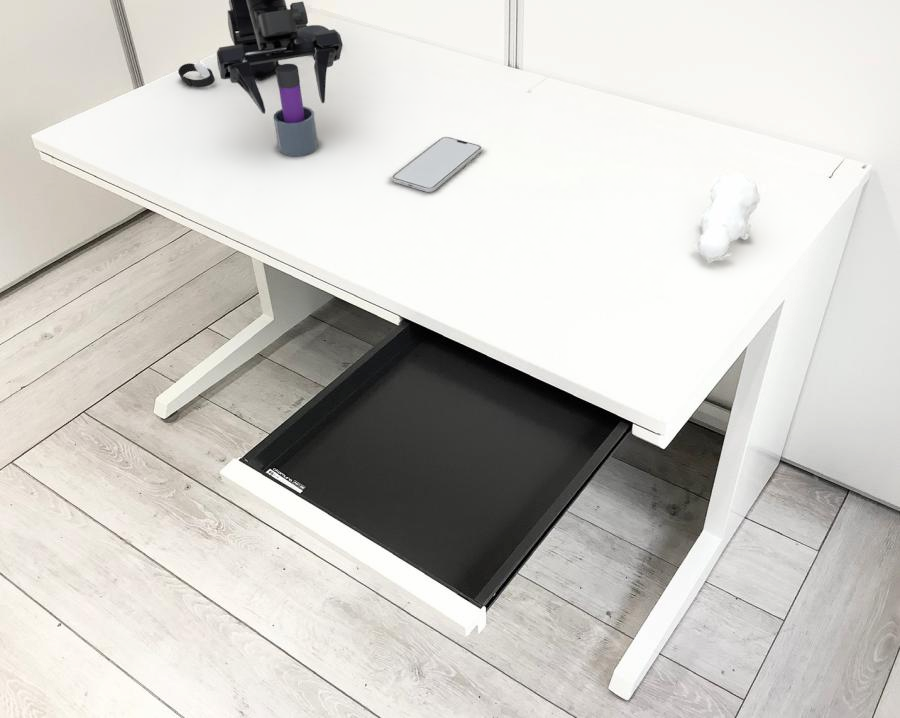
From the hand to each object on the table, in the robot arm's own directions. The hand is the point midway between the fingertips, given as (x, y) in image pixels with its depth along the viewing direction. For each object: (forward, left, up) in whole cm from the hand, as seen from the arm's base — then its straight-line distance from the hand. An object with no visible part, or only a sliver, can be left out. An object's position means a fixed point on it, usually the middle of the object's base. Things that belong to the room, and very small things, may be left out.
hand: (293, 107), depth 136 cm
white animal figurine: (-13, +65, -8) cm, 66 cm away
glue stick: (-1, -1, -7) cm, 7 cm away
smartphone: (-9, +21, -7) cm, 24 cm away
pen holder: (-1, -1, -7) cm, 7 cm away
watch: (-8, -34, -8) cm, 36 cm away
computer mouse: (-32, -30, -8) cm, 45 cm away
